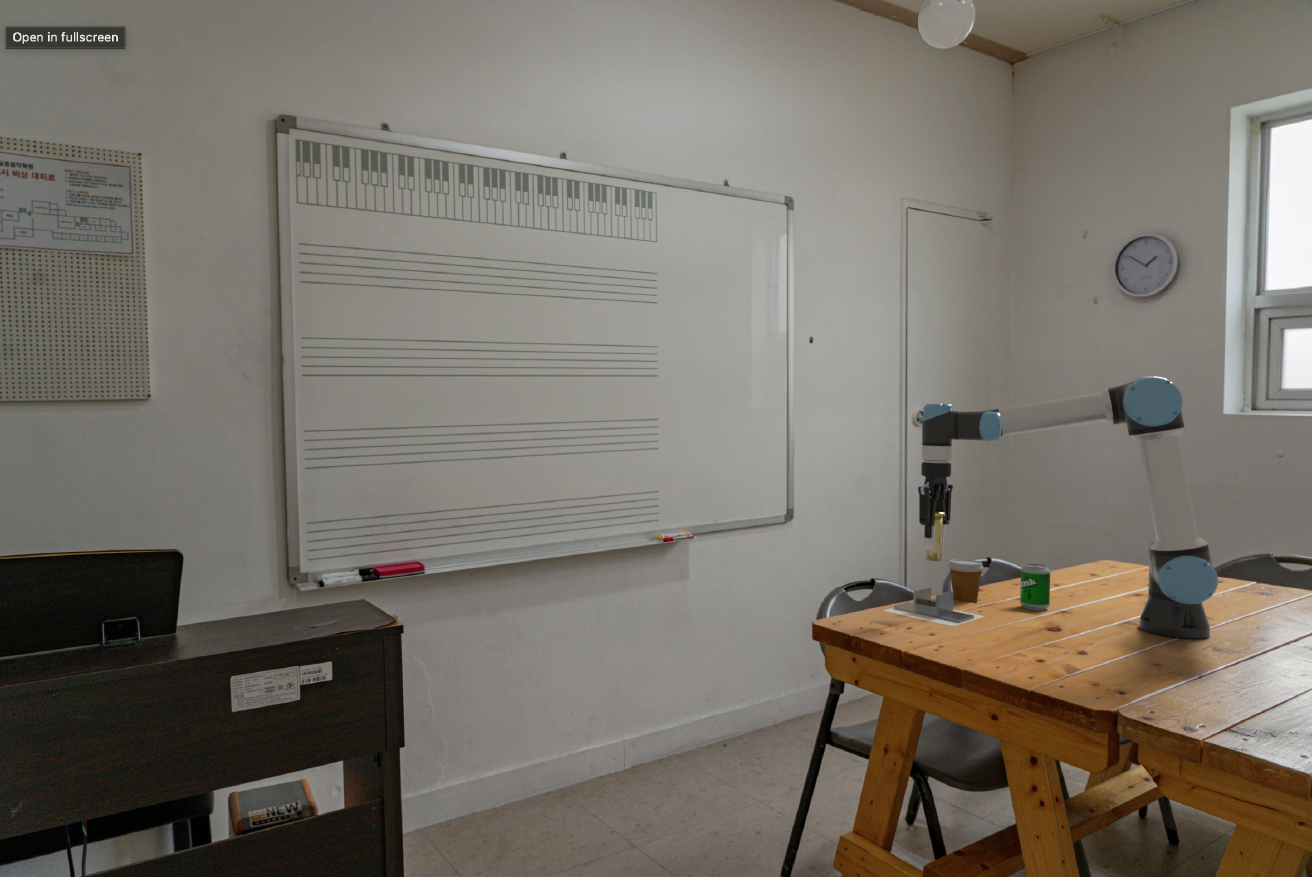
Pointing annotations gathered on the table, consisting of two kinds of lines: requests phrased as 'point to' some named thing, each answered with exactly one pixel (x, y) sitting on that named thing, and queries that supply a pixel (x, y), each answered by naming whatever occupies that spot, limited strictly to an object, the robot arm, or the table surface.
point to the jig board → (931, 619)
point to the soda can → (1035, 587)
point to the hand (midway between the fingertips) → (934, 549)
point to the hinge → (934, 606)
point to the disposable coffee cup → (965, 579)
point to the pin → (937, 538)
